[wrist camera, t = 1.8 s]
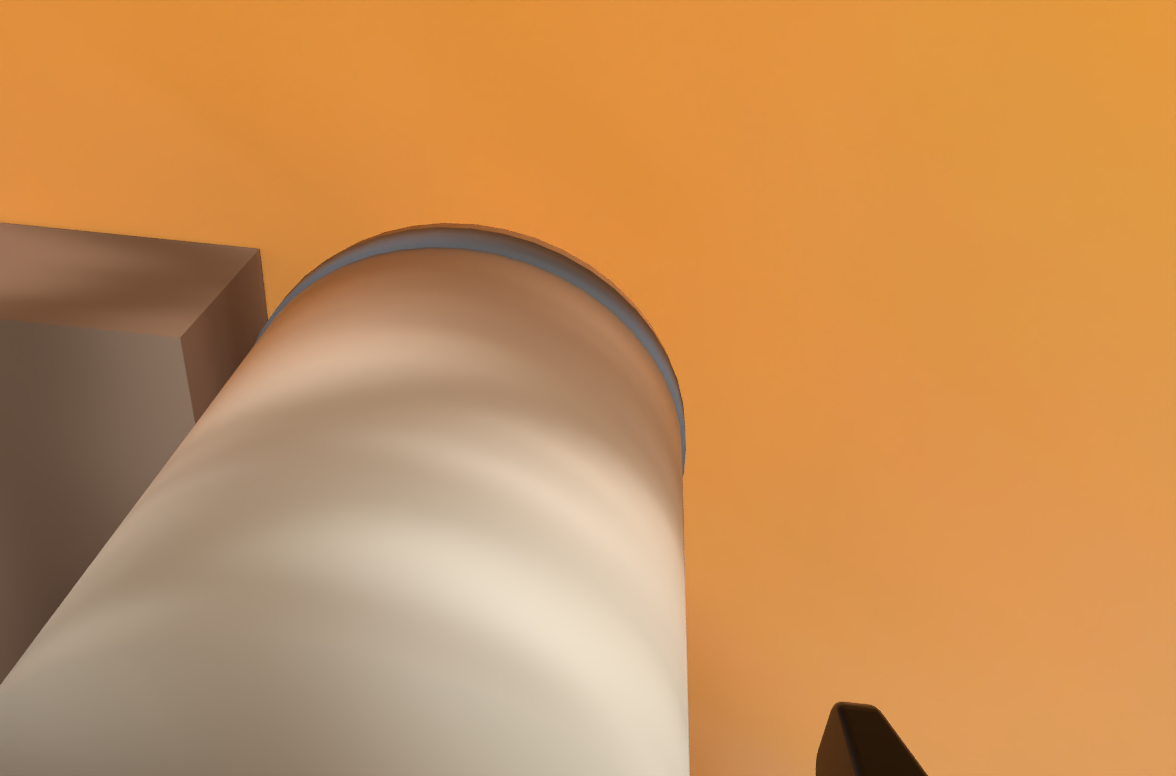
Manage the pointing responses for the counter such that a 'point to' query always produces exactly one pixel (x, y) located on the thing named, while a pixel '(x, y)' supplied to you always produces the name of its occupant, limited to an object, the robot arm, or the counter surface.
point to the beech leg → (395, 543)
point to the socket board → (101, 391)
